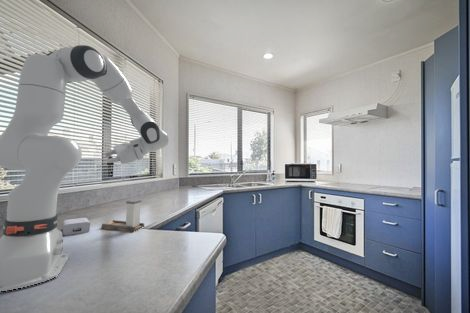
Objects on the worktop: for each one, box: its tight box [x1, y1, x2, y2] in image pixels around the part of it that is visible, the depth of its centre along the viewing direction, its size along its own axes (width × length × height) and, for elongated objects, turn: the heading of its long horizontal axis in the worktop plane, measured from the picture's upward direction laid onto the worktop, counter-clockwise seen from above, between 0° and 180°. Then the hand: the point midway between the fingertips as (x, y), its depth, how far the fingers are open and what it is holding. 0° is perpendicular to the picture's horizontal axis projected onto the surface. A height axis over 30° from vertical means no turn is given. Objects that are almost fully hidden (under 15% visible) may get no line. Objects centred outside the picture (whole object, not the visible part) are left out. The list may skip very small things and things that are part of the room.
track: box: [101, 219, 145, 233], centre depth 106 cm, size 17×8×2 cm, turn 78°
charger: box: [61, 217, 91, 236], centre depth 101 cm, size 5×9×15 cm
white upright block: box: [125, 199, 142, 227], centre depth 105 cm, size 4×5×12 cm
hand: (106, 158), depth 105 cm, fingers open, 8 cm apart
